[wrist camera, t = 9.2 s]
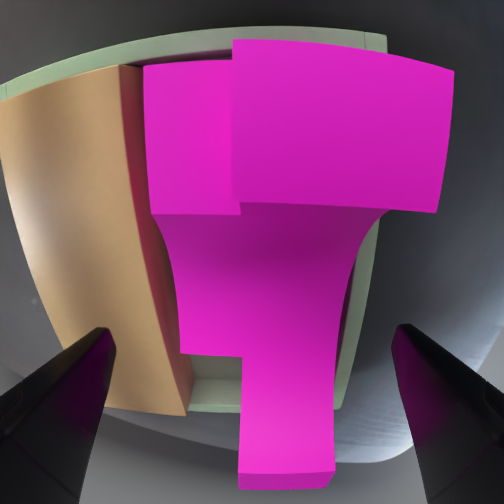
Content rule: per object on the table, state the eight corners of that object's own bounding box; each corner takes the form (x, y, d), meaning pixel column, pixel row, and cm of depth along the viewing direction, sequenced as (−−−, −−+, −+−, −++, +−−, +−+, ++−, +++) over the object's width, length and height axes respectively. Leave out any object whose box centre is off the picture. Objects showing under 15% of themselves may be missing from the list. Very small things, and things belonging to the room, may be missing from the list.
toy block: (183, 74, 11) (85, 56, 4) (347, 79, 11) (454, 71, 4) (201, 366, 18) (181, 484, 11) (310, 369, 18) (325, 487, 11)
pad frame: (366, 43, 10) (387, 34, 8) (335, 379, 19) (341, 409, 17) (26, 84, 11) (-6, 87, 9) (103, 372, 19) (92, 399, 17)
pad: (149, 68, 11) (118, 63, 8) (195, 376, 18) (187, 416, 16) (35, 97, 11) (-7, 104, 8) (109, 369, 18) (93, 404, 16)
